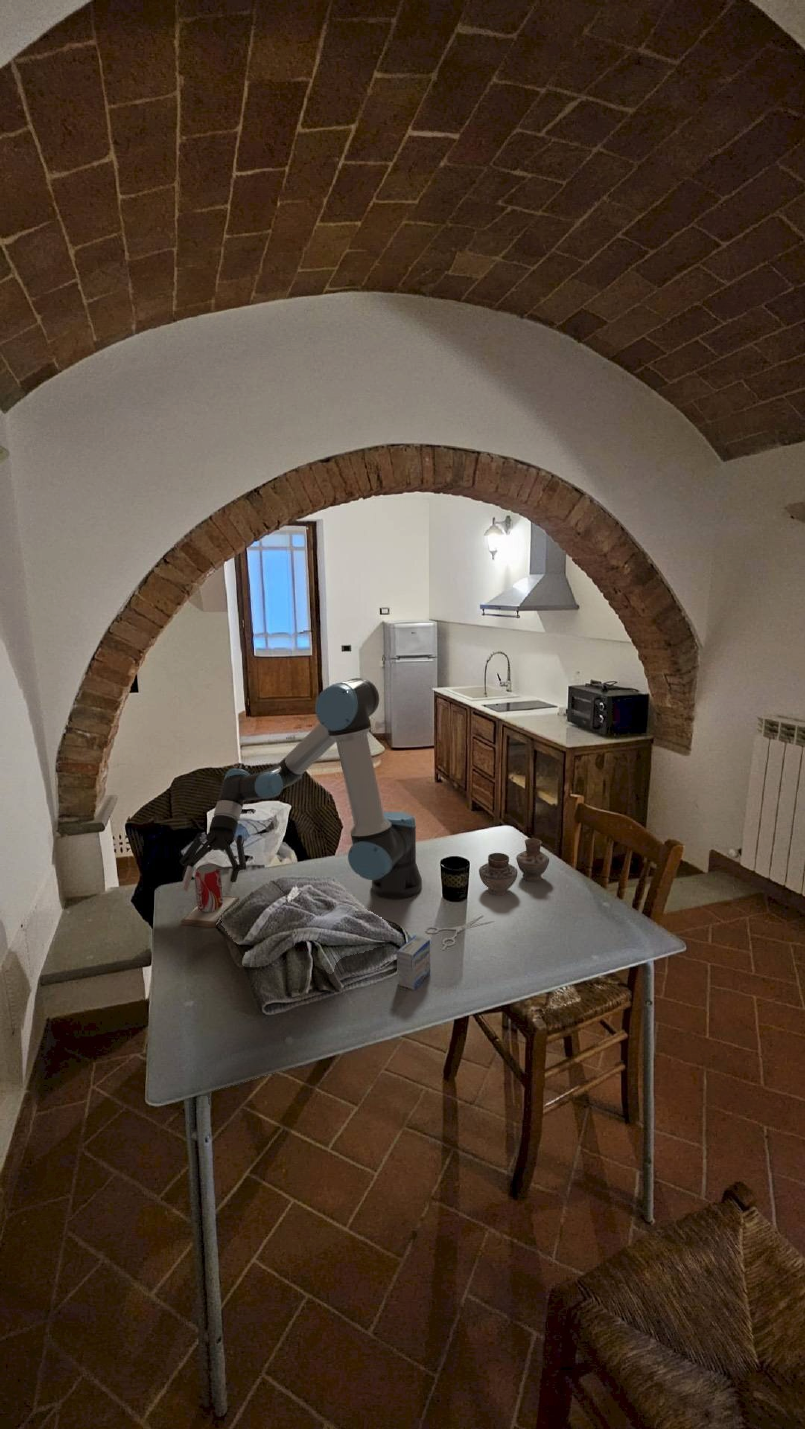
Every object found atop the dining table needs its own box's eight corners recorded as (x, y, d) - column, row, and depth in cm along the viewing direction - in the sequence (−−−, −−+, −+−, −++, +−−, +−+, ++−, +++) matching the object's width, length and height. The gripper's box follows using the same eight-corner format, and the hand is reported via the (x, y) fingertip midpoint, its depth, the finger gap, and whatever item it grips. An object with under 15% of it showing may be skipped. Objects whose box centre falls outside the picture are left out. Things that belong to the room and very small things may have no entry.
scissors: (418, 930, 163) (477, 908, 174) (418, 933, 163) (477, 910, 174) (443, 949, 155) (503, 924, 165) (443, 952, 155) (503, 927, 166)
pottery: (556, 879, 192) (558, 843, 189) (497, 903, 178) (498, 864, 175) (529, 867, 201) (530, 831, 198) (470, 888, 187) (471, 851, 184)
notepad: (239, 900, 182) (239, 896, 181) (215, 927, 167) (215, 923, 167) (207, 897, 183) (207, 894, 183) (181, 924, 169) (180, 920, 169)
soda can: (219, 913, 172) (215, 873, 169) (193, 914, 172) (190, 873, 169) (226, 901, 178) (223, 862, 176) (202, 901, 179) (198, 862, 176)
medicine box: (413, 991, 139) (413, 956, 138) (396, 984, 142) (396, 950, 140) (431, 972, 146) (430, 939, 144) (414, 967, 148) (414, 933, 146)
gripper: (268, 826, 184) (251, 899, 172) (192, 822, 188) (170, 893, 176) (260, 815, 178) (241, 890, 166) (182, 811, 182) (158, 884, 170)
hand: (205, 891), depth 171 cm, fingers open, 12 cm apart
